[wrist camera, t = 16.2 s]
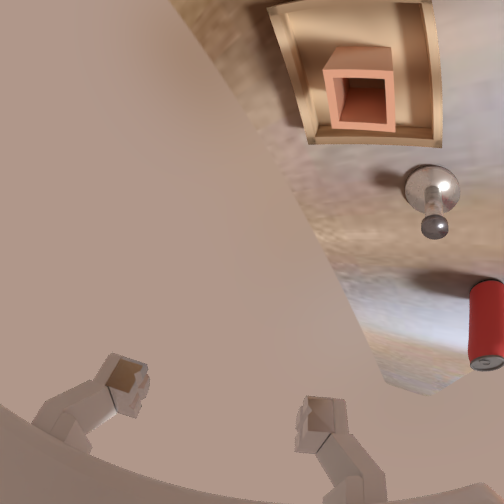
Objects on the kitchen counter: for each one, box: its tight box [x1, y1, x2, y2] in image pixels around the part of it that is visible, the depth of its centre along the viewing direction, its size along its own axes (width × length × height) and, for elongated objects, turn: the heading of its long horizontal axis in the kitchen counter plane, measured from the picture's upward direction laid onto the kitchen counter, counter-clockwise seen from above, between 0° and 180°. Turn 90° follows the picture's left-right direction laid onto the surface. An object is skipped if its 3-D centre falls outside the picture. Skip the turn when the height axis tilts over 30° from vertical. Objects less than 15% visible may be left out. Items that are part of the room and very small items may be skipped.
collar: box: [323, 46, 395, 132], centre depth 19 cm, size 5×5×7 cm
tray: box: [266, 0, 442, 148], centre depth 21 cm, size 14×13×3 cm
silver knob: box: [405, 165, 460, 239], centre depth 27 cm, size 6×6×6 cm
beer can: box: [468, 280, 504, 371], centre depth 32 cm, size 7×7×12 cm
